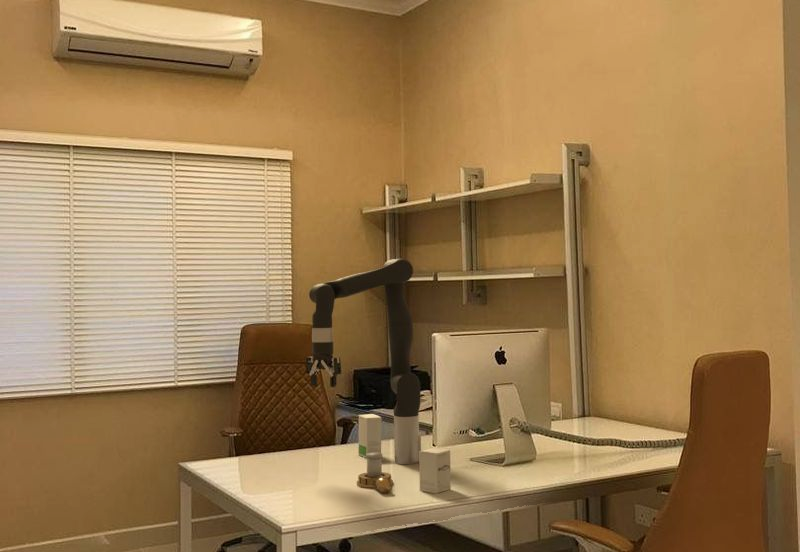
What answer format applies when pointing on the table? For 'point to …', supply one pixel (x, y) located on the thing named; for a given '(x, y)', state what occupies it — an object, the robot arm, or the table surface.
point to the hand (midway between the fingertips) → (323, 386)
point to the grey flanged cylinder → (374, 464)
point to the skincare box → (369, 434)
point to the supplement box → (434, 470)
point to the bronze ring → (376, 482)
